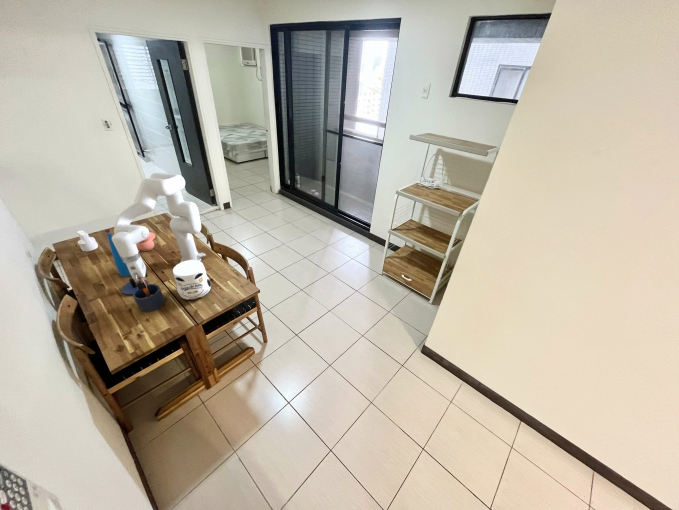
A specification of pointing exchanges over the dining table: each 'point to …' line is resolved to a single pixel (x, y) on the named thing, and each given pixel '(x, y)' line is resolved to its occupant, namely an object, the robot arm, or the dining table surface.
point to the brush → (145, 289)
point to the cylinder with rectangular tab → (86, 241)
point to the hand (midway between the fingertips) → (143, 282)
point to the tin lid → (131, 287)
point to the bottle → (117, 257)
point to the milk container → (191, 279)
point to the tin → (149, 298)
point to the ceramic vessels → (147, 242)
